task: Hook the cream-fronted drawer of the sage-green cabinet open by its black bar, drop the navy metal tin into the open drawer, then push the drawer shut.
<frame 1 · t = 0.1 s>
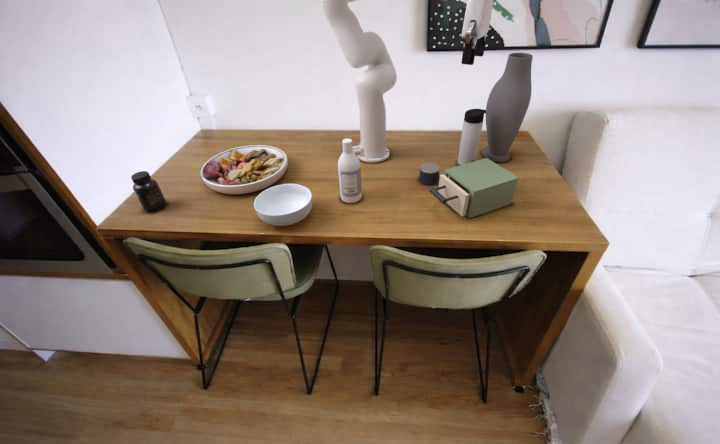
hand: (472, 59, 96), 37 cm above the table, tool pointing down, fingers open, 9 cm apart
drawer: (463, 191, 103), point 5 cm above the table, slide at 1.0 cm
tin: (428, 180, 117), on the table
travel mug: (466, 164, 125), on the table
bowl: (248, 176, 125), on the table
cabinet: (475, 199, 107), on the table
cereal bowl: (287, 217, 104), on the table
vase: (496, 155, 129), on the table
bath foam: (351, 198, 111), on the table
supplement bottle: (156, 207, 112), on the table
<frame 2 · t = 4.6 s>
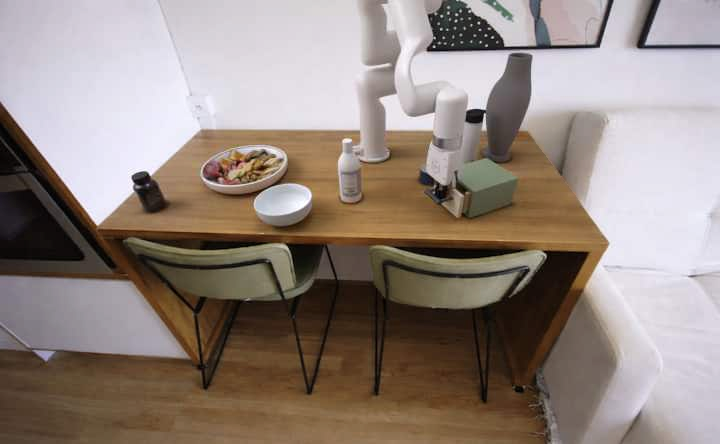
hand: (440, 198, 100), 5 cm above the table, tool pointing down, fingers closed
drawer: (458, 192, 102), point 5 cm above the table, slide at 2.7 cm
everything else where it was.
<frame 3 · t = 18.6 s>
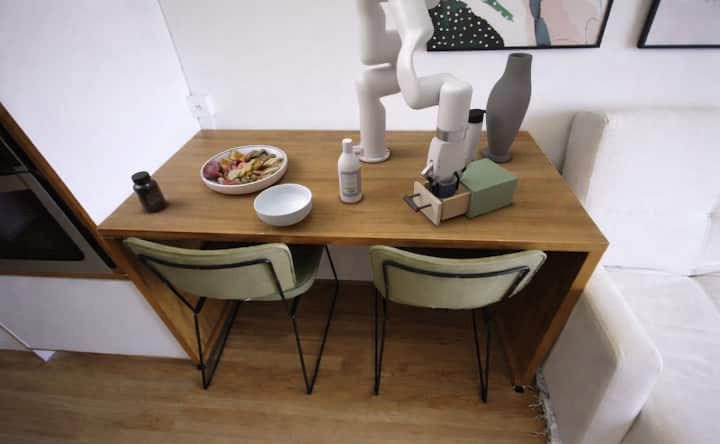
hand: (443, 190, 99), 7 cm above the table, tool pointing down, fingers closed on tin, 6 cm apart
drawer: (438, 199, 100), point 5 cm above the table, slide at 9.9 cm, touching gripper
tin: (443, 192, 99), point 7 cm above the table, touching gripper
everything else where it was.
when the fingers open (7 cm above the table, at t = 18.9 s): tin drops 4 cm, resting on drawer.
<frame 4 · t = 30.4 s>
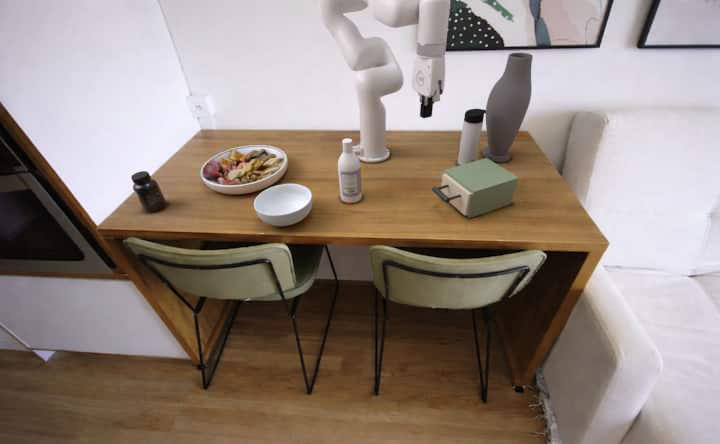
hand: (425, 116, 102), 23 cm above the table, tool pointing down, fingers closed
drawer: (466, 190, 103), point 5 cm above the table, slide at 0.0 cm, touching tin
tin: (470, 195, 105), point 2 cm above the table, touching drawer
everything else where it was.
at the end: drawer pulled out 11.1 cm at the most during the clip, back to where it started at the end; tin inside the target area in the cabinet (2.0 cm from its centre), point 2.1 cm above the cabinet's base; drawer slide at 0.0 cm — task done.
